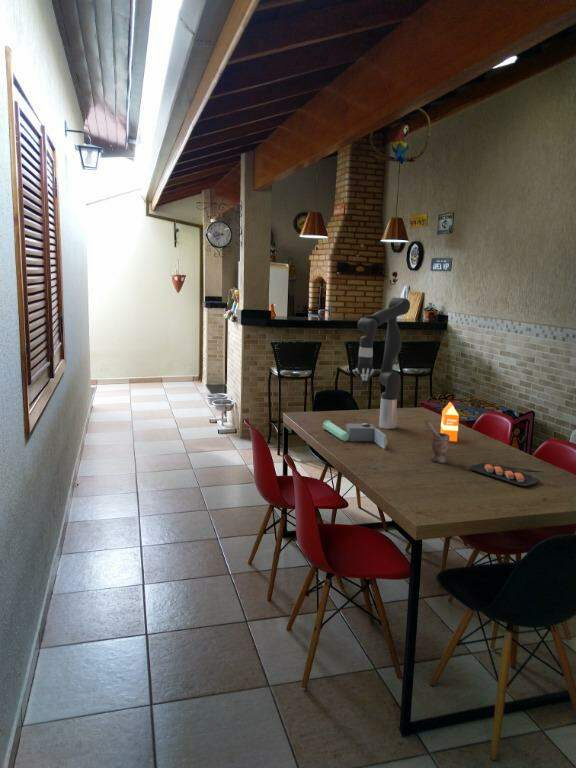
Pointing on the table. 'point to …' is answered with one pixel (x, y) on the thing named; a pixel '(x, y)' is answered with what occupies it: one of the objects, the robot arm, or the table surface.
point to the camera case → (360, 432)
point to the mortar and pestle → (438, 443)
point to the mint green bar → (335, 430)
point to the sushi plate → (506, 474)
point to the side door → (380, 438)
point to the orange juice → (450, 422)
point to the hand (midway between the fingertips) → (363, 387)
